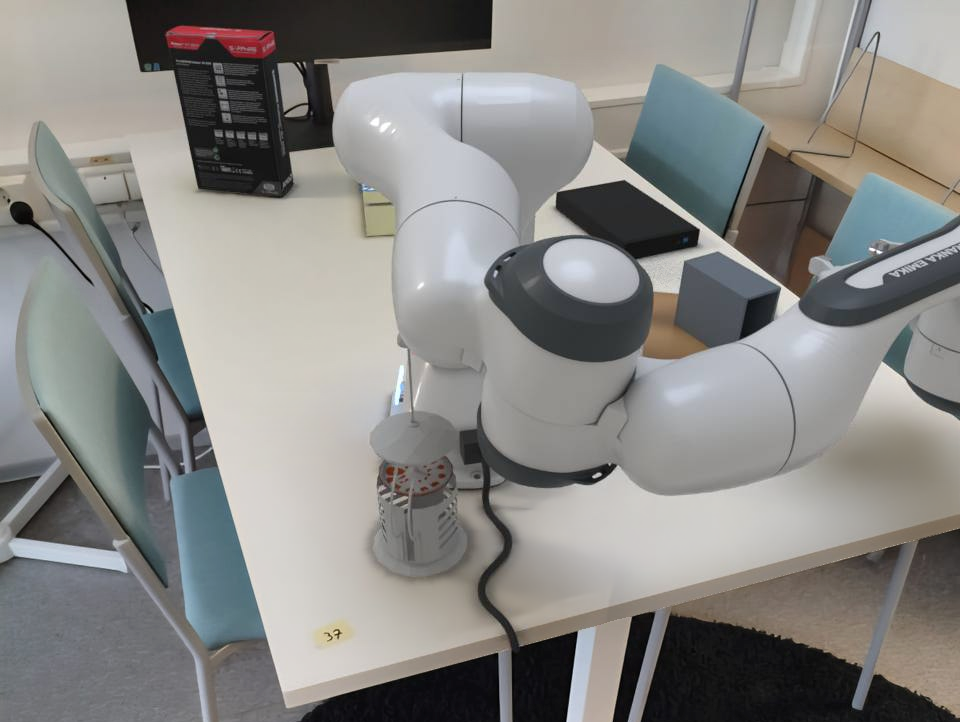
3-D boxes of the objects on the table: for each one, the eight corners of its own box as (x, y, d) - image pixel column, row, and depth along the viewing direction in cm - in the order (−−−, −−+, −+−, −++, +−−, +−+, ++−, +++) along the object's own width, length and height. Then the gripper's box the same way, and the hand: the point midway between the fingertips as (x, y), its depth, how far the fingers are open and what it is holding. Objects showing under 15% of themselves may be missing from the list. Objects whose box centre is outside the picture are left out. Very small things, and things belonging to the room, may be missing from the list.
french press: (475, 515, 92) (474, 307, 76) (455, 596, 83) (449, 380, 67) (385, 505, 93) (366, 298, 77) (356, 584, 84) (327, 368, 68)
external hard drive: (623, 195, 159) (625, 179, 157) (697, 246, 142) (700, 228, 140) (555, 208, 154) (556, 192, 152) (623, 261, 138) (625, 244, 136)
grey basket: (765, 351, 116) (781, 287, 110) (731, 363, 114) (746, 298, 108) (706, 313, 124) (718, 251, 118) (673, 323, 122) (684, 260, 116)
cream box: (451, 231, 147) (450, 171, 140) (363, 236, 145) (358, 175, 138) (426, 141, 181) (424, 89, 174) (355, 144, 179) (350, 92, 173)
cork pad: (781, 379, 112) (782, 375, 112) (642, 364, 115) (642, 361, 114) (770, 304, 127) (771, 301, 127) (647, 293, 130) (648, 290, 129)
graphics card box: (297, 185, 162) (275, 26, 145) (284, 199, 157) (260, 36, 140) (211, 179, 165) (180, 22, 147) (196, 193, 159) (161, 32, 142)
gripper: (873, 352, 84) (770, 300, 94) (1005, 306, 92) (898, 263, 102) (890, 292, 81) (781, 244, 91) (1026, 249, 89) (913, 210, 99)
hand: (844, 254), depth 96 cm, fingers open, 8 cm apart
